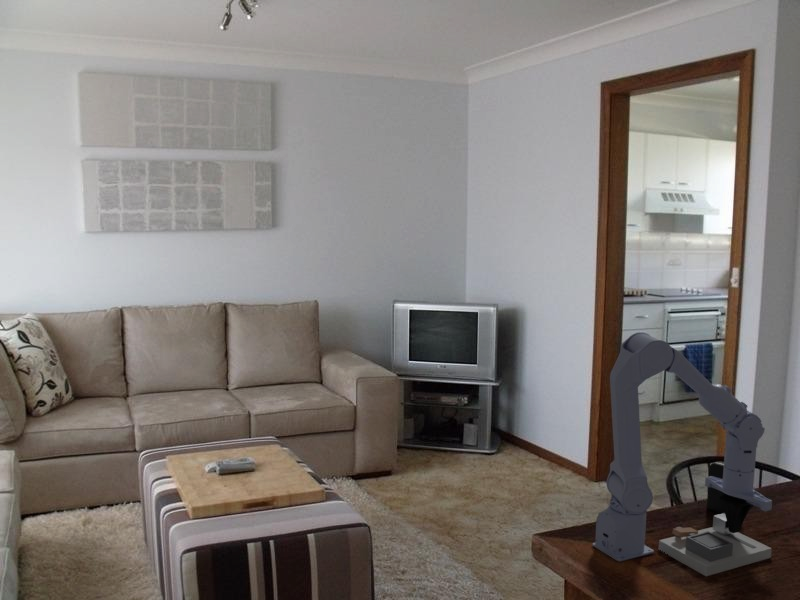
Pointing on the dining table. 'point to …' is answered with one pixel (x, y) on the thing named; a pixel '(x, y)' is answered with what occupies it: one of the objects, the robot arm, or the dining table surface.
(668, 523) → the dining table surface
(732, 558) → the control panel
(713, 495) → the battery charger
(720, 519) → the slider knob
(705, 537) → the push button
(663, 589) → the dining table surface
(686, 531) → the rocker switch
